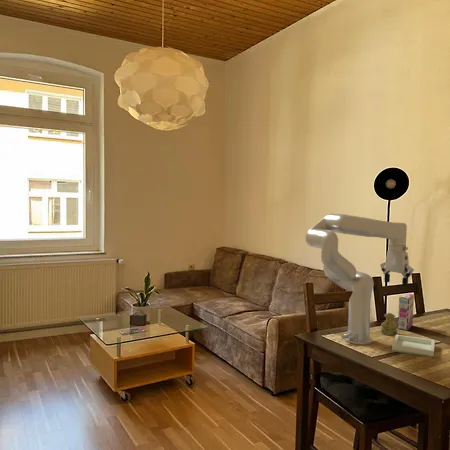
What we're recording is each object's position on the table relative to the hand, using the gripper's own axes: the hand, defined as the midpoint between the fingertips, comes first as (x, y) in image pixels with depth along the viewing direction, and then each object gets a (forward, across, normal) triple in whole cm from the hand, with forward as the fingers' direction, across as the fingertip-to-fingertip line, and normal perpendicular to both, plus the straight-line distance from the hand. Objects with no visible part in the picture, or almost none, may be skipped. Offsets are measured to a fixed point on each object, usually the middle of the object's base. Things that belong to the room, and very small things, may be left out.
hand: (395, 284), depth 205 cm
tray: (+25, -17, +10) cm, 31 cm away
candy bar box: (+25, +4, -16) cm, 29 cm away
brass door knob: (+25, +2, 0) cm, 25 cm away
